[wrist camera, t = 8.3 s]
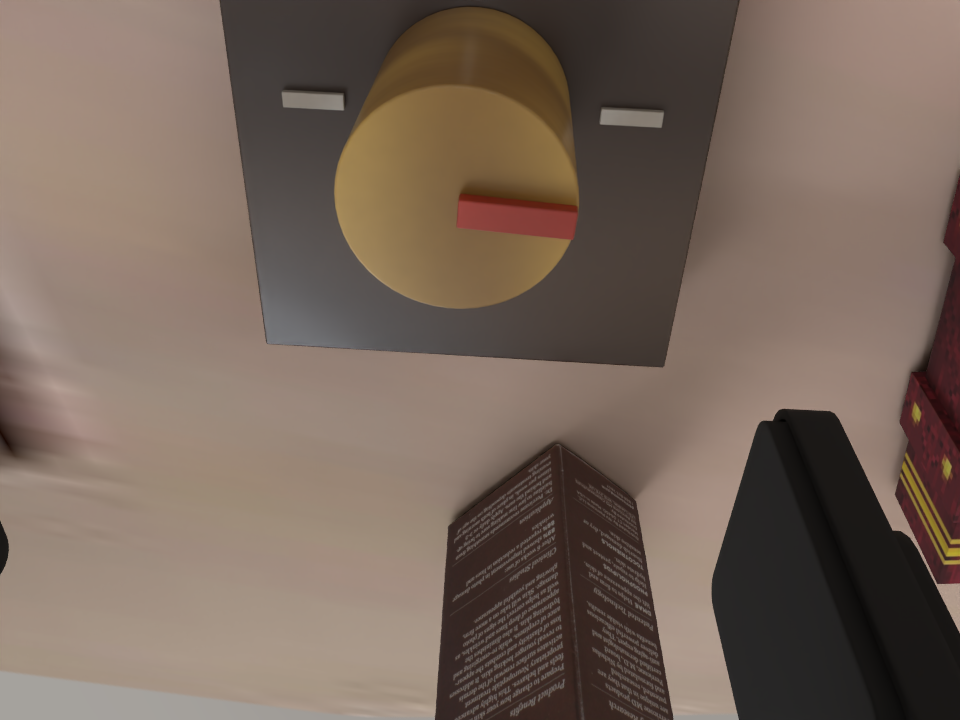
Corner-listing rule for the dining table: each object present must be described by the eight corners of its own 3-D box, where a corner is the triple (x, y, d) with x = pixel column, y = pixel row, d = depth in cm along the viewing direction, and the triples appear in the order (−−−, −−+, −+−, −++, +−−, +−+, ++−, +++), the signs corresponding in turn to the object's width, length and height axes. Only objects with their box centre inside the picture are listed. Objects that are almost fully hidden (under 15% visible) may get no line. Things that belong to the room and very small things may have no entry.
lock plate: (652, 309, 26) (665, 372, 23) (290, 288, 26) (264, 348, 23) (759, -265, 17) (797, -264, 15) (226, -289, 18) (175, -292, 15)
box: (532, 578, 33) (532, 923, 24) (445, 521, 32) (407, 866, 22) (650, 500, 31) (704, 856, 21) (561, 433, 29) (576, 786, 19)
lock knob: (373, 187, 21) (332, 306, 16) (377, -5, 18) (328, 76, 14) (554, 206, 21) (560, 329, 16) (584, 17, 18) (600, 105, 14)
